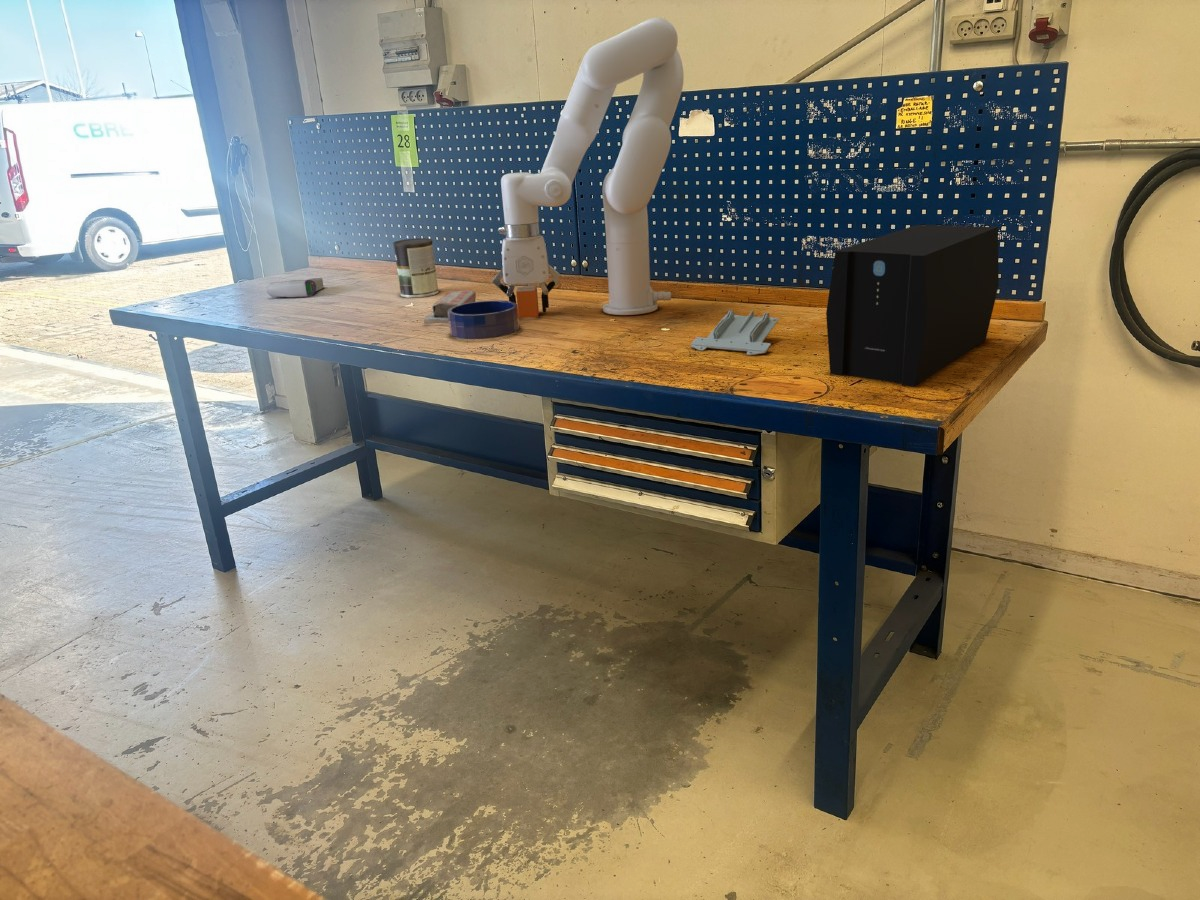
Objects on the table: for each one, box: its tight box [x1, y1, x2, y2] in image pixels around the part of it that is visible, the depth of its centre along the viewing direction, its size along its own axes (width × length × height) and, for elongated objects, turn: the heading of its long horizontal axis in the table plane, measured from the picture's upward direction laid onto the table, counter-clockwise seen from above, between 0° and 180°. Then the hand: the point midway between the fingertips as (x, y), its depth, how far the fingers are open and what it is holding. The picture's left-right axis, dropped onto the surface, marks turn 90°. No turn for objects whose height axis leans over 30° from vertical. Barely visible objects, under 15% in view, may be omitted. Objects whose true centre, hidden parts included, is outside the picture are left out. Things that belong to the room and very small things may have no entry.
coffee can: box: [392, 237, 439, 299], centre depth 227 cm, size 10×10×14 cm
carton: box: [515, 285, 540, 319], centre depth 193 cm, size 4×5×7 cm
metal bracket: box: [690, 309, 780, 356], centre depth 161 cm, size 14×6×15 cm
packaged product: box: [423, 289, 477, 324], centre depth 199 cm, size 18×5×10 cm
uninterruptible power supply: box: [825, 224, 1000, 387], centre depth 144 cm, size 16×34×20 cm, turn 139°
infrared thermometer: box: [266, 277, 324, 298], centre depth 241 cm, size 5×12×15 cm
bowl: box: [448, 300, 520, 340], centre depth 181 cm, size 15×15×6 cm
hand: (529, 311), depth 194 cm, fingers open, 6 cm apart
